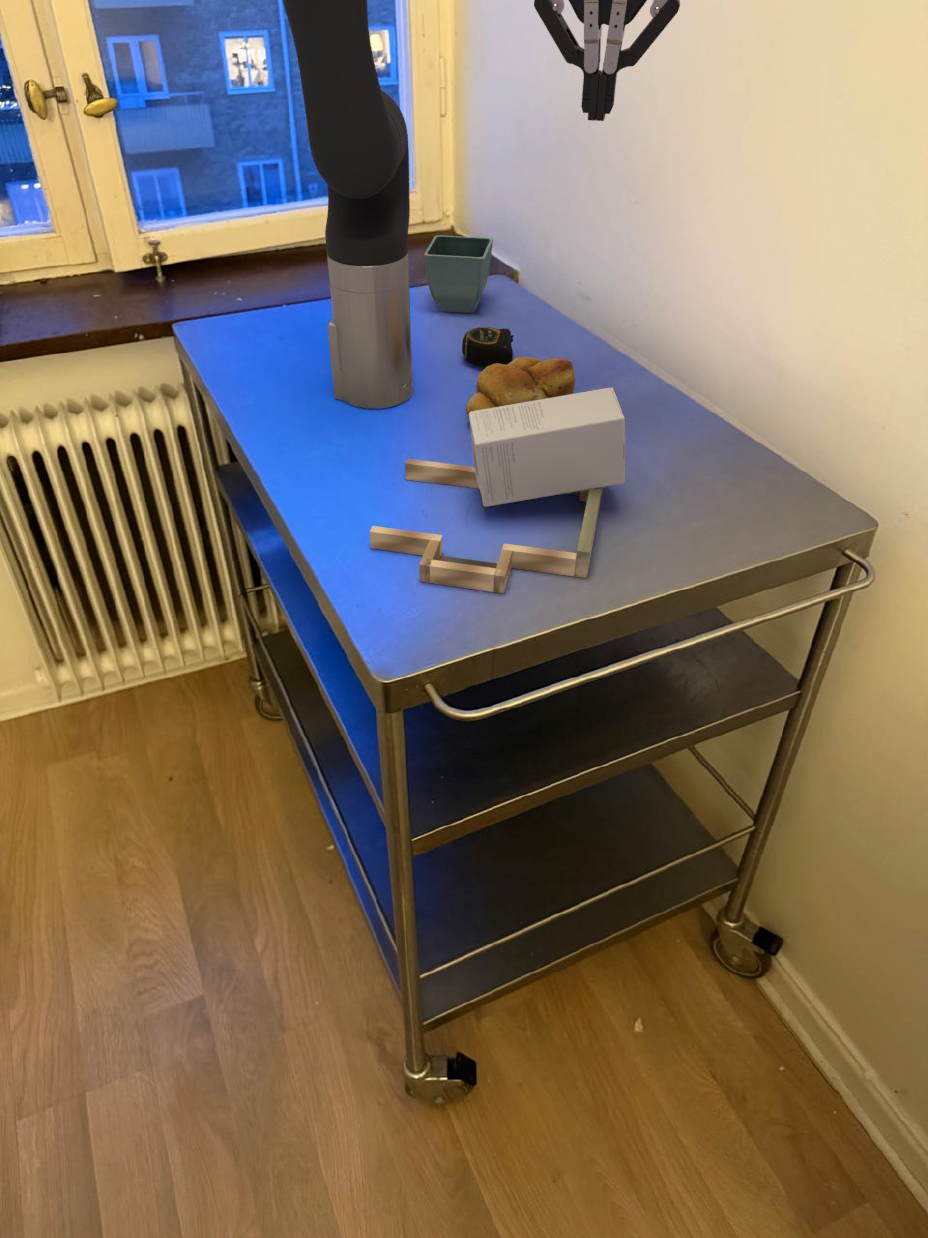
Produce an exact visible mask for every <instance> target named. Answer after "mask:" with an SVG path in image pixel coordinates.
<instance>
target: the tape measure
mask: <svg viewBox="0 0 928 1238" xmlns="http://www.w3.org/2000/svg"><path fill="white" fill-rule="evenodd" d="M514 336H515V335H514V334H513V335H512V332H511V330H510V329H509V328H494V327H492V326H491V327H490V326H481V327H480V326H479V327H476V328H471V329H469V330H468V331H466V332H465V334H464V336H463V339H462V342H461V351H462V355H463V357H464V360H466V362H467V363H468V364H470V365H473V366H476V367H480V368H484V369H485V368H486V367H487V366H490V365H492V364H496V363H498V364H503V365H507V364H509V363H510V362H512V361H513V360H514V359H513V358H514V351H513V345H512V343H513V341H514V339H513V338H514Z"/></svg>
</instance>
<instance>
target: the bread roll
mask: <svg viewBox="0 0 928 1238" xmlns="http://www.w3.org/2000/svg"><path fill="white" fill-rule="evenodd" d="M575 377H576V376H575V371H574V365H573V362H572V361H571V360H569V359H567V358H566V359H565V358H561V357H558V358H547V359H544V360H541V359H539V358H537V357H524V356H521V355H519V356H518V357H515V358H514V359H512V362H510V363H509V364H507V365H503V364H498V363H496V364H492V365H490V366H487V367H486V368H485V367H484V369H483V370H482V371H481V372H480V373H479V374H478V377H477V379H476V386H475V387H476V392H475V393H474V394H473V395H472V396H471V397H470V398H469V400H468V402H467V404H466V407H465V411H466V415H467V417H468V419H469V413H470V412H471V411H476V410H482V409H488V408H494V407H500V406H506V405H511V404H517V403H523V402H529V401H535V400H541V399H547V398H552V397H558V396H564V395H570V394H574V390H575V385H576V378H575Z"/></svg>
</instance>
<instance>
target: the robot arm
mask: <svg viewBox="0 0 928 1238" xmlns="http://www.w3.org/2000/svg"><path fill="white" fill-rule="evenodd" d="M647 1H648V0H568V2H569V3H570V6H571V8H572V11H573V12H574V14H575V15H576V18H577V19H578V20H579V22H581V23H582V24H583V43H584V44H583V45H584V47H582V46H580V44H579V42H578V41H577V39H576V37H575V36H574V34H573V32H572V30H571V29H570V27H569V24H568V23H567V21H566V20H565V18H564V16H563V15H562V13H563V12H564V9H565V1H564V0H534V1H533V5H534V7H533V8H534V10H535V11H536V12H537V14H538V16H539V18H540V19H541V20H542V22H543V24H544V26H545V28H546V29H547V32H548V33H549V35H550V36H551V38H552V40H553V42H554V44H555V45H556V47H557V49H558V50H559V52H560V53H561V55H562V57H563V59H564V60H565V62H566V63H567V64H569V65H574V66H575V67H578V68H580V70H581V71H582V73H583V80H582V81H583V82H582V94H581V107H580V108H581V110H582V113H583V114H587V121H594V122H595V121H596V122H600V121H601V122H603V121H605V119H606V115H610V114H611V112H612V109H613V108H614V105H615V96H616V85H617V75H618V72H620V71H621V70H623V69H625V68H628V67H634V66H636V65H637V63H638V62H639V61H640V59H641V58H642V57H643V56H644V55H645V53H646V52H647V51H648V50H649V48H650V47H651V46H652V45H653V43H654V42H655V41H656V40H657V38H658V37H659V36H660V35H661V34H662V32H663V31H664V30H665V28H666V27H667V26H668V25H669V23H670V22H671V21H672V20H673V19H674V17H675V16H677V13H678V12H679V10H680V7H681V1H680V0H653V2H652V4H651V6H649V7H650V9H649V14H650V16H651V17H652V18H651V20H650V21H649V22H648V24H647V25H646V26H645V27H644V29H642V31H641V32H640V34H639V35H638V36H637V38H635V40H634V41H633V43H632V44H631V45H630V46H629V47H627V48H624V49H622V46H623V41H624V35H625V30H626V26H627V25H629V24H630V23H631V22H632V21H633V20H635V18H636V16H637V15H638V14H639V12H640V11H641V9H642V8H643V7H644V5H645V4H646V3H647ZM282 4H283V6H284V10H285V14H286V17H287V21H288V24H289V28H290V31H291V35H292V40H293V43H294V49H295V52H296V57H297V63H298V70H299V77H300V84H301V90H302V91H301V92H302V96H303V97H302V98H303V104H304V110H305V111H304V112H305V119H306V126H307V134H308V142H309V147H310V148H309V149H310V154H311V156H312V161H313V163H314V165H315V168H316V170H317V172H318V173H319V175H320V176H321V178H322V180H323V181H324V182H325V183H326V185H327V200H328V201H327V216H326V222H325V231H324V233H325V234H324V236H325V247H326V248H325V249H326V257H327V258H326V259H327V268H328V278H329V280H328V281H329V289H330V298H331V299H330V300H331V311H332V319H330V321H329V322H328V323H327V335H328V346H329V354H330V355H329V356H330V357H329V358H330V366H331V376H332V378H331V379H332V387H333V388H332V389H333V396H334V399H336V400H342V401H344V402H345V403H347V404H349V405H351V406H353V407H354V406H355V407H358V408H363V409H385V408H391V407H394V406H397V405H400V404H403V403H405V402H406V401H408V400H409V399H410V398H411V396H412V395H413V391H414V389H413V388H414V387H413V386H414V385H413V377H414V376H413V364H412V363H413V358H412V357H413V355H412V330H411V329H412V327H411V326H412V325H411V322H412V321H411V301H410V300H411V299H410V298H411V296H410V295H411V294H410V293H411V292H410V269H409V267H410V265H409V262H410V261H409V228H410V226H409V225H410V215H411V214H410V212H411V211H410V210H411V208H410V202H411V201H410V154H409V152H410V151H409V149H410V148H409V136H408V129H407V128H408V127H407V124H406V121H405V117H404V115H403V112H402V110H401V109H400V107H399V105H398V104H397V102H396V101H395V100H394V99H393V98H392V97H391V96H390V95H389V94H387V93H386V92H385V91H384V90H382V89H381V86H380V82H379V77H378V73H377V68H376V64H375V58H374V55H373V48H372V43H371V37H370V30H369V15H368V0H282ZM602 25H606V26H608V31H607V35H606V45H605V53H604V58H603V63H602V70H601V69H600V64H601V53H602V52H601V48H602V47H601V46H602V33H603V32H602V30H603V29H602V28H603V26H602Z"/></svg>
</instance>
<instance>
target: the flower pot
mask: <svg viewBox="0 0 928 1238" xmlns="http://www.w3.org/2000/svg"><path fill="white" fill-rule="evenodd" d="M493 239H494V238H491V237H484V236H483V237H479V236H477V237H476V236H475V237H474V236H458V235H457V236H456V235H455V236H454V235H439V234H438V235H435V236H433V238H432V240H431V241H430V244H429V246H428V247H427V249H426V250H425V252H424V255H423V258H424V263H425V270H426V277H427V283H428V288H429V291H430V294H431V297H432V299H433V302H434V303H435V304H436V306H437V307H438V309H439V310H440V311H441V312H449V313H467V314H472V313H474V312H475V311H476V309H477V307H478V305H479V303H480V300H481V298H482V296H483V293H484V291H485V288H486V285H487V282H488V278H489V275H490V267H491V260H492V252H493V251H492V250H493V241H494V240H493Z"/></svg>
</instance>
